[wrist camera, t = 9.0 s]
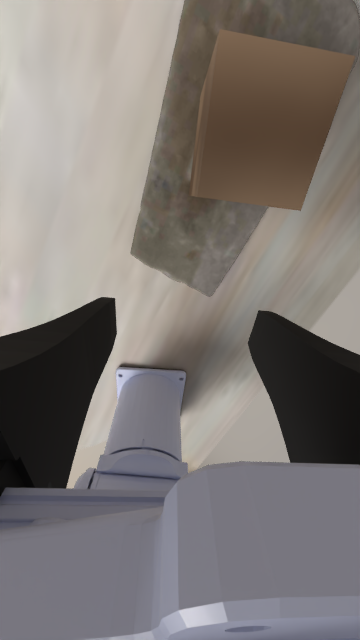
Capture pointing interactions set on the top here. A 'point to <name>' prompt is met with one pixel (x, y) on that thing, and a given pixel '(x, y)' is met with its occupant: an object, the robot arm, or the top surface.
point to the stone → (181, 123)
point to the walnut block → (264, 119)
